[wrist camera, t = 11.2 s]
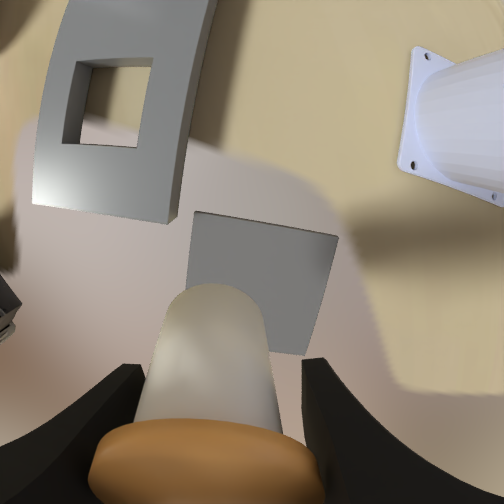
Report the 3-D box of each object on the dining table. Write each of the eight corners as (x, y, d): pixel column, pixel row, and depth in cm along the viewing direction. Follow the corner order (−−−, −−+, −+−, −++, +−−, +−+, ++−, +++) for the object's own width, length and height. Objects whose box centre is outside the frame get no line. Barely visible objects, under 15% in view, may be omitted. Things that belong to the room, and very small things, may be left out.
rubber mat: (337, 235, 17) (338, 237, 17) (304, 352, 20) (304, 355, 19) (195, 210, 17) (194, 212, 17) (182, 333, 19) (181, 336, 19)
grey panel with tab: (240, -72, 11) (232, -141, 4) (177, 216, 17) (126, 258, 10) (115, -63, 11) (74, -112, 4) (50, 198, 17) (-28, 224, 10)
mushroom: (272, 256, 10) (330, 438, 4) (285, 366, 12) (321, 526, 5) (133, 277, 10) (42, 443, 4) (170, 380, 12) (144, 533, 5)
